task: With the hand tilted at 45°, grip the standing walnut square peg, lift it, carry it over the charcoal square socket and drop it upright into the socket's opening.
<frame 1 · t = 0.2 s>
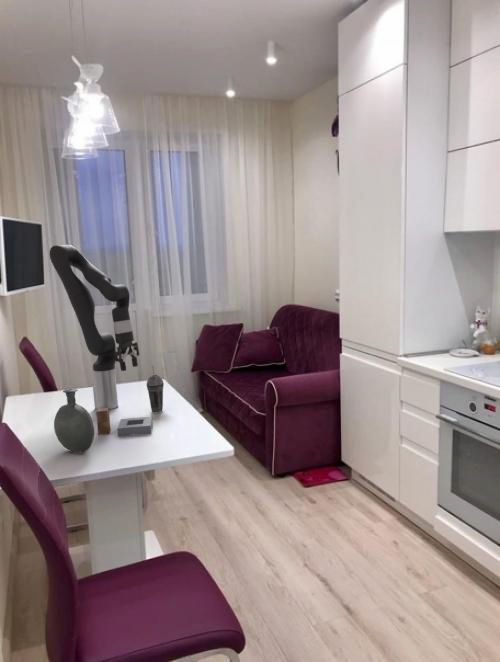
hand: (129, 368, 225), 18 cm above the table, tool pointing down, fingers open, 8 cm apart
flask: (76, 453, 178), on the table
beverage cup: (157, 411, 224), on the table
socket: (136, 429, 200), on the table
peg: (104, 432, 198), on the table
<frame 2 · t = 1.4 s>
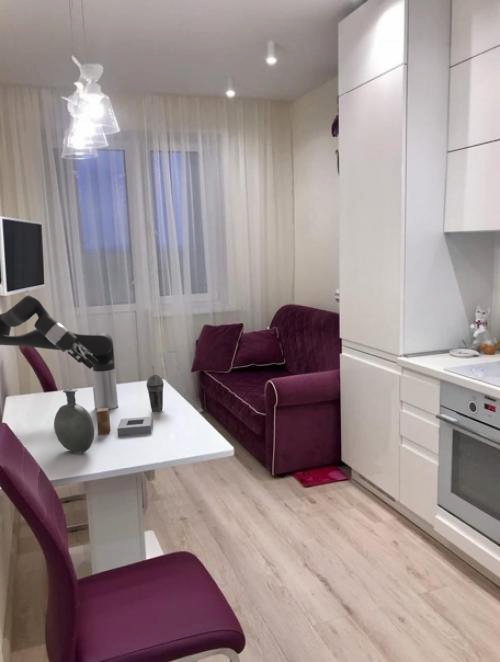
hand: (94, 364, 203), 25 cm above the table, tool tilted 45°, fingers open, 8 cm apart
nothing on the table moved.
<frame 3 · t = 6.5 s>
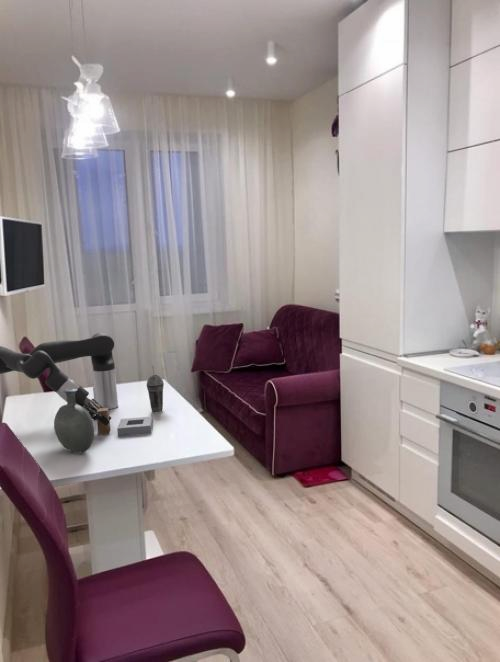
hand: (108, 421, 198), 4 cm above the table, tool tilted 45°, fingers closed on peg, 4 cm apart
peg: (104, 432, 198), on the table, touching gripper
everything else where it was.
when the fingers open (5 cm above the table, at t = 11.0 s): peg drops 1 cm, resting in socket.
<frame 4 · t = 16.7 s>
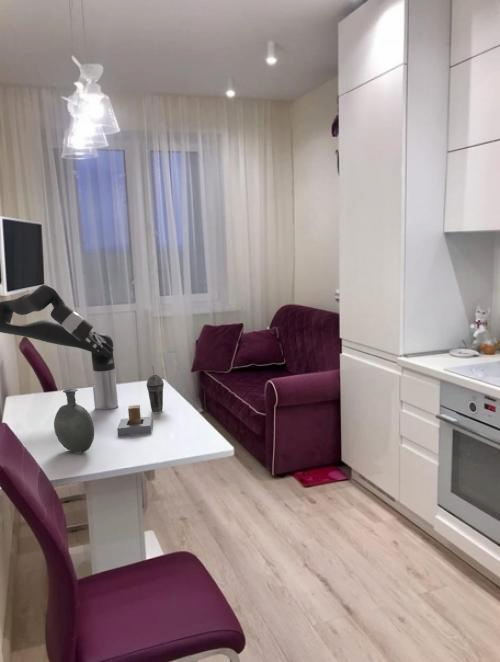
hand: (110, 353, 202), 29 cm above the table, tool tilted 45°, fingers open, 8 cm apart
peg: (135, 429, 200), resting in socket
everything else where it was.
at the end: peg 0.2 cm off-centre on the socket, point 0.0 cm above the socket's base; peg tilted 0°; the gripper is holding nothing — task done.
